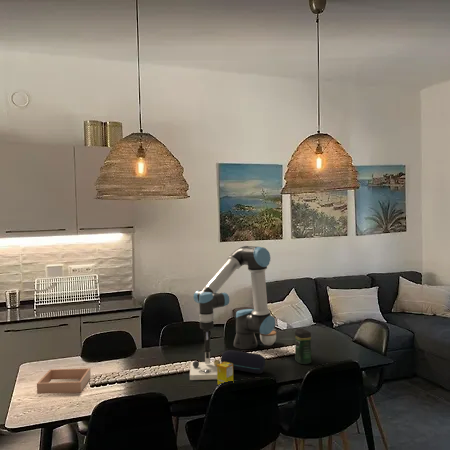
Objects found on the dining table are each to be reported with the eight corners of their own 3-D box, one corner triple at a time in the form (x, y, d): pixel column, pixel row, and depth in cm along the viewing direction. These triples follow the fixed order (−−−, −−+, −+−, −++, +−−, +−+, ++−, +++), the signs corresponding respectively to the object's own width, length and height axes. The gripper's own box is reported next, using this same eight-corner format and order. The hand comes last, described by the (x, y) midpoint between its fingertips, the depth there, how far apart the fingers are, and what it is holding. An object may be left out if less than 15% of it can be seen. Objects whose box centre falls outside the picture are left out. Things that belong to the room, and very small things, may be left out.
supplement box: (224, 382, 242) (224, 361, 242) (233, 385, 239) (233, 363, 238) (217, 386, 238) (216, 364, 237) (226, 388, 234) (226, 366, 234)
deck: (190, 366, 266) (190, 362, 266) (222, 366, 267) (222, 361, 267) (189, 380, 246) (189, 375, 246) (224, 378, 247) (224, 374, 247)
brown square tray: (90, 377, 252) (90, 368, 252) (80, 392, 232) (80, 382, 232) (50, 378, 251) (49, 369, 251) (37, 393, 231) (36, 383, 231)
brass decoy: (220, 364, 262) (219, 358, 262) (220, 366, 258) (220, 360, 258) (213, 365, 262) (213, 358, 261) (213, 367, 258) (213, 360, 258)
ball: (209, 373, 253) (209, 368, 252) (210, 377, 250) (209, 371, 249) (203, 374, 253) (202, 368, 252) (203, 378, 250) (202, 372, 249)
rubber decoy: (199, 366, 260) (198, 359, 260) (198, 368, 257) (198, 362, 257) (192, 366, 260) (192, 360, 260) (192, 368, 257) (192, 362, 256)
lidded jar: (256, 342, 311) (256, 328, 311) (271, 340, 316) (270, 326, 315) (265, 347, 301) (264, 332, 301) (279, 344, 306) (279, 330, 306)
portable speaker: (268, 371, 258) (268, 353, 257) (260, 377, 249) (260, 358, 249) (228, 364, 270) (227, 346, 270) (219, 369, 262) (218, 351, 261)
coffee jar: (313, 363, 269) (313, 331, 268) (300, 365, 266) (300, 332, 266) (305, 358, 278) (305, 327, 277) (293, 360, 276) (292, 328, 275)
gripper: (199, 318, 267) (200, 359, 269) (199, 324, 254) (200, 367, 256) (213, 317, 268) (213, 359, 269) (213, 323, 255) (214, 367, 256)
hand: (207, 363), depth 262 cm, fingers closed
